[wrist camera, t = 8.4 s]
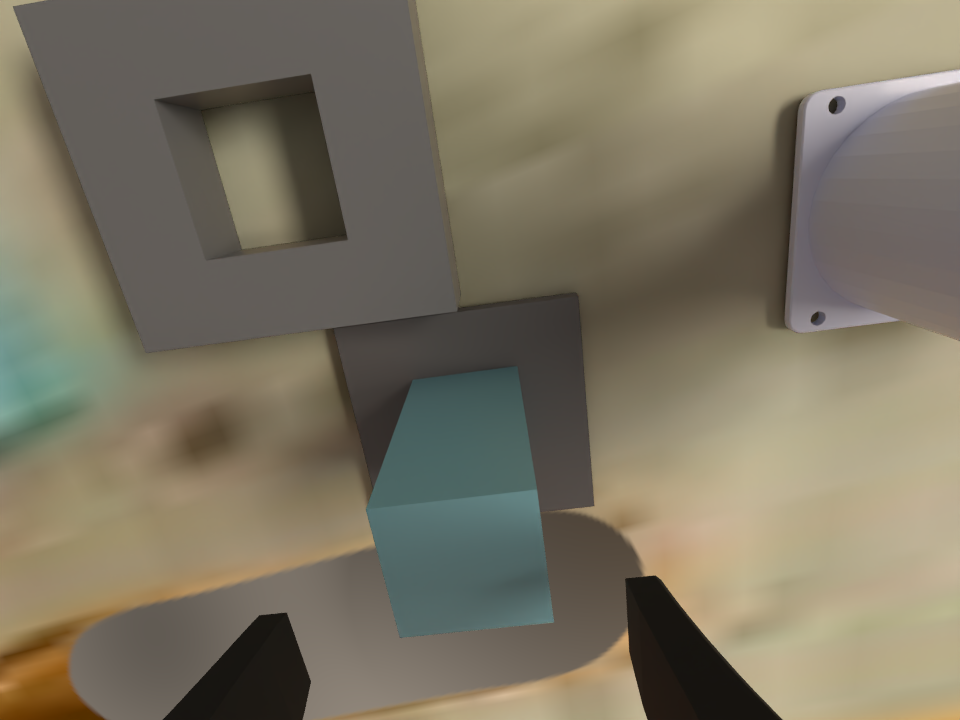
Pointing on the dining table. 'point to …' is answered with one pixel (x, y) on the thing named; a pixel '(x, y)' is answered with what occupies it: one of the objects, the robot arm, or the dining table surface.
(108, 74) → the socket block
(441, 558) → the plug
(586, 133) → the dining table surface
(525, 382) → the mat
